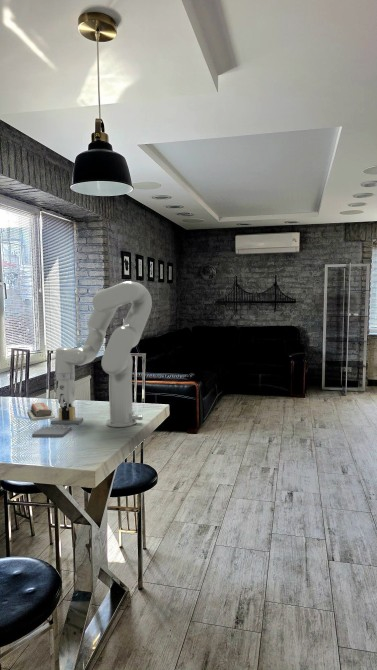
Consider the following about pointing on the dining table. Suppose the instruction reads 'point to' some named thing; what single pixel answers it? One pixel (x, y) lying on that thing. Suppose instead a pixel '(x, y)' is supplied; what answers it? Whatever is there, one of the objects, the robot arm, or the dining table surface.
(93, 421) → the dining table surface
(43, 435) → the ticket board
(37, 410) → the packaged product
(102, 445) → the dining table surface
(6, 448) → the dining table surface
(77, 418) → the yellow block
